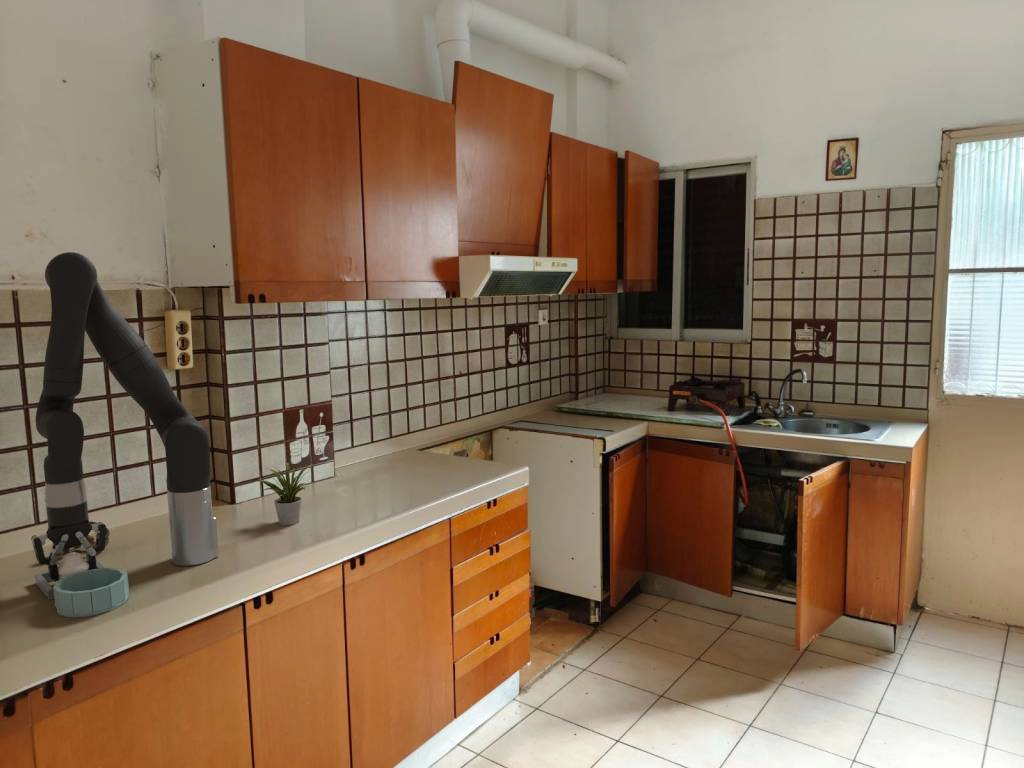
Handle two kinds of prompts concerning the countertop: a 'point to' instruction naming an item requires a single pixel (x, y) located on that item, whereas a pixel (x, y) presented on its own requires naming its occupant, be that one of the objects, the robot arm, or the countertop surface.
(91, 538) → the brown looped piece
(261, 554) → the countertop surface
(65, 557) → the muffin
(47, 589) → the square frame
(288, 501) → the house plant
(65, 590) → the bowl
